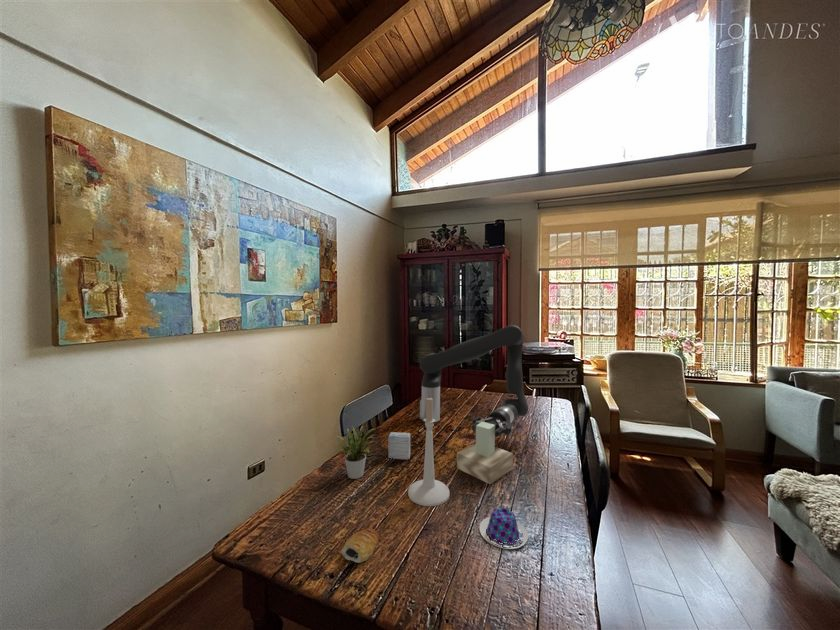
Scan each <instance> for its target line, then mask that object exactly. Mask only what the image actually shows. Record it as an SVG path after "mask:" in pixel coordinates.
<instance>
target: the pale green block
mask: <svg viewBox="0 0 840 630" xmlns="http://www.w3.org/2000/svg"><path fill="white" fill-rule="evenodd" d="M495 431H496V430H495V425H494V424H490V423H486V422H481V423H479V424H478V425H476V431H475V443H476V449H475V454H478V455H482V456H485V457H488V458H489V457H490V456H491V455H492V454H493V453H494V450H495V447H496V444H495V442H496V440H495V439H496V437H495Z"/></svg>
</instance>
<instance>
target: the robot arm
mask: <svg viewBox="0 0 840 630" xmlns="http://www.w3.org/2000/svg"><path fill="white" fill-rule="evenodd" d="M524 338H525V336H524V333H523V331H522V329H521V328H520V327H519V326H517V325H515V324H514V325H513V324H511V325H510V324H509V325H506V326H504V327H502V328H499V329H498V330H496V331H493V332H491V333H489V334H485V335H481V336H479V337H474V338H472V339H468V340H466V341H462V342H461V343H457V344H455V345H453V346H450V348H447V349H446V350H444V351H441V352H437V353H435V352H430V353H428V354H425V355H423V356H422V358H421V360H420V361H419V369H421V371H422V372H423V377H422V380H421V399H420V400H419V420H422V422H424V419H426V399H427V398H429V397H430V398H432V399H433V419H435V422H434V423H436V422H439V421H440V419H441V417H440V416H441V380H442V369H444V368H446V367H448V366H453V365H457V364H461V363H465V362H469V361H473V360H475V359H478V358H480V357H482V356H484V355H486V354H488V353H489V352H491V351H493V350H496V349H498V348H503V347H506V351H507V365H506V373H505V379H506V383H505V384H506V392H507V393H509V394H513V395H515V396H516V397H517V398H506V399H505V400H503V403H502V406H500V407H498V408H496V409H494V410H493V411H492V412H491V413H489V414H488V417H486V418H483V417H482V415H478V416H477V417H475V418H473V419H471V422H472V423H471V424H472V425H471V430H472V432H476V425H478V424H479V423H481V422H486V423H490V424H494V425H495V438H498V437H501V436H502V435H506V436H510V435H511V434H512V433H513V432H514V423H513V422H514V421H515V420H516V419H517V417H525V416H526V415H528V413H529V404H528V401H527V399H526V395H525V391H524V380H523V364H522V360H523V359H522V356H523V353H522V352H523V346H524V345H523V344H524Z"/></svg>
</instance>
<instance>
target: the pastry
mask: <svg viewBox="0 0 840 630" xmlns="http://www.w3.org/2000/svg"><path fill="white" fill-rule="evenodd" d="M378 542H379V534H378V531H376V530H375V529H373V528H371V527H369V528H364V529H361V530H360V531H357V532H355V533H353V534H352V535H351V537H349V538H347V540H346V541H345V544H344V546H343V548H342V549H341V555H342V556H343V558H344V559H345V560H347V561H350V560H351V562H354V563H357V564H361V563H365V562H366V561H367V560H369V559H370V557H371V556H372V555H373V553H374V551H375V549H376V546H377V544H378ZM364 561H365V562H364Z"/></svg>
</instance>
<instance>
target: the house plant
mask: <svg viewBox="0 0 840 630" xmlns="http://www.w3.org/2000/svg"><path fill="white" fill-rule="evenodd" d="M363 425H364V424H363ZM363 425H361V427H360V429H359V432H358V434H357V431H356V429H355V427H354V426H353V425H352V426H351V427H352V431H353V433H352V431H350V429H349V428H348V427H346V430H347V435H348V439H349V440H348V441H346V440H345V439H344V438H343V437H342V436H340V435H337V434H336V435H334V436H336V437H338V438H340V439H341V440H342V441H343V442H344V443H345V444H346V445H347V447H346V446H345V445H343V444H341V443H340V444H339V445H340V446H341V447H342V449H338V450H337V452H340V453H343V454H346V455H345V457H344V461H345V466H346V467H345V468H346V472H347V477H348V478H349V479H351V480H352V479H353V480H354V479H355V480H356V479H360V478H362V477H363V475H364V472H365V467H366V459H367V456H368V455H367V453H368V454H369V453H370V448H368V446H369V445H371V443H373V442H374V440H372V441H369V442H368V440H369V439H374V438H375V437H374V436H375V435H376V434H371V435H369V434H370V433H371V432H372V431H373V430H376V429H377V428H371V429H370V430H367V432H366V433H365V434H364V435H363V431H364V430H363V429H364V428H363V427H364V426H363ZM353 435H354V436H353ZM368 435H369V436H368ZM362 436H363V437H362ZM367 436H368V437H367Z"/></svg>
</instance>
